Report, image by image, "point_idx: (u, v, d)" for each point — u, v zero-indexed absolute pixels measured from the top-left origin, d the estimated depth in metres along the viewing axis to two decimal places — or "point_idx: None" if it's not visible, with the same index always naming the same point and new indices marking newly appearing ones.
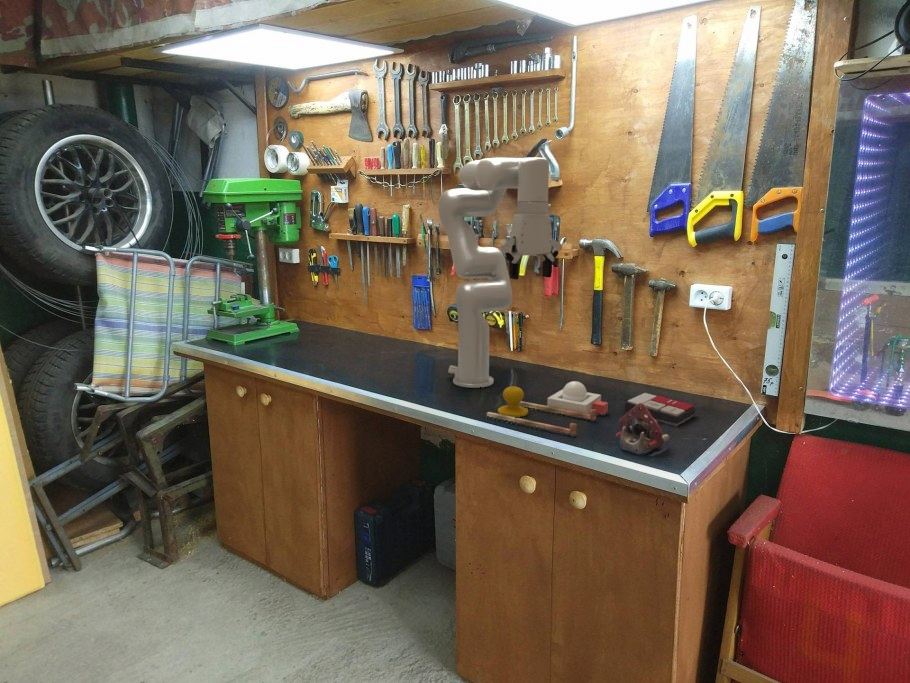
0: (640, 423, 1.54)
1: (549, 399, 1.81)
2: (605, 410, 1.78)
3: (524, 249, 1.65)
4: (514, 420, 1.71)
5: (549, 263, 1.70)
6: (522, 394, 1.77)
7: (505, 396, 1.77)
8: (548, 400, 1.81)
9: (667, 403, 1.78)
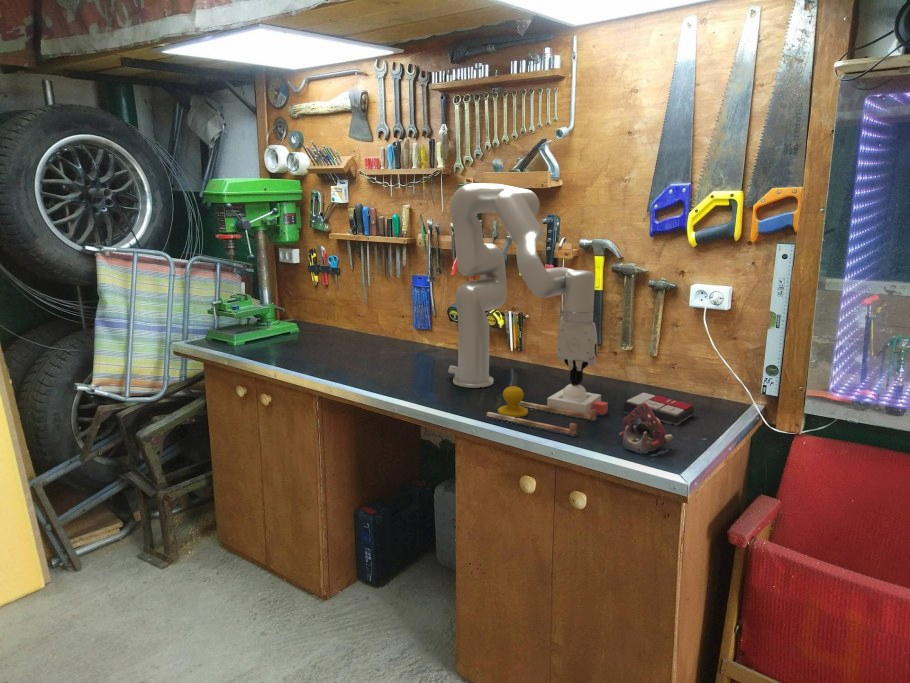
0: (643, 423, 1.55)
1: (549, 399, 1.81)
2: (605, 410, 1.78)
3: None
4: (514, 420, 1.71)
5: None
6: (522, 394, 1.77)
7: (505, 396, 1.77)
8: (548, 400, 1.81)
9: (666, 403, 1.78)
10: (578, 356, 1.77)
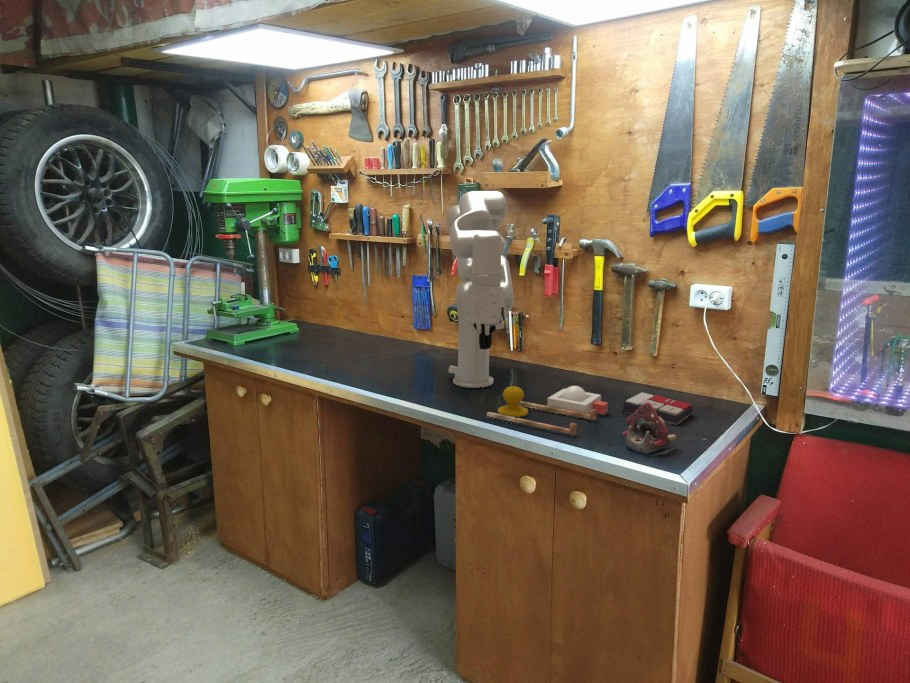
0: (646, 422, 1.55)
1: (549, 399, 1.81)
2: (605, 410, 1.78)
3: None
4: (514, 420, 1.71)
5: None
6: (522, 394, 1.77)
7: (505, 396, 1.77)
8: (548, 400, 1.81)
9: (665, 402, 1.79)
10: (485, 319, 1.75)
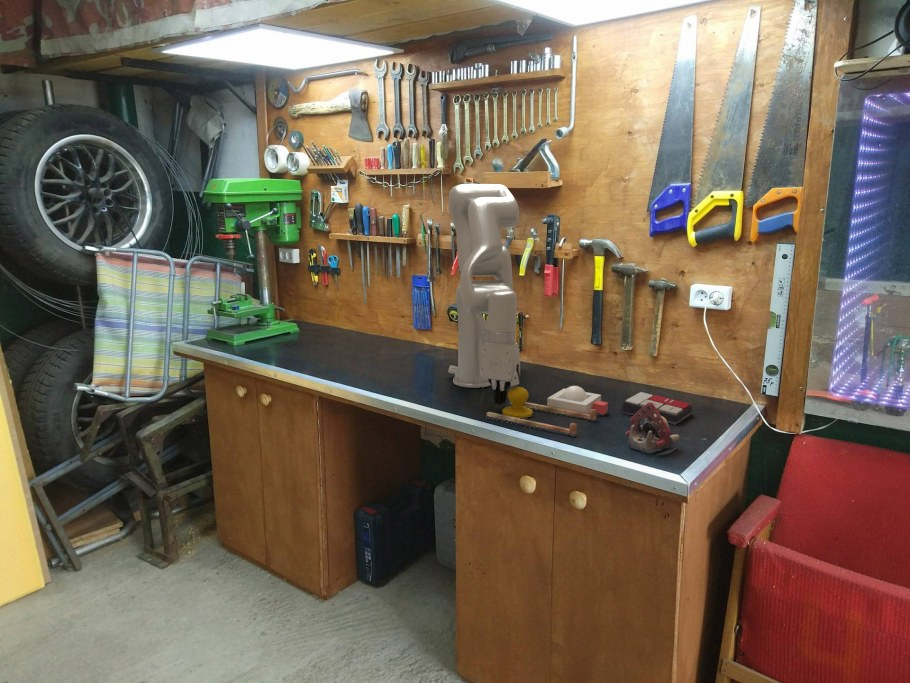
0: (649, 422, 1.55)
1: (549, 399, 1.81)
2: (605, 410, 1.78)
3: None
4: (514, 420, 1.71)
5: None
6: (527, 395, 1.76)
7: (510, 397, 1.76)
8: (548, 400, 1.81)
9: (664, 402, 1.79)
10: (500, 376, 1.76)
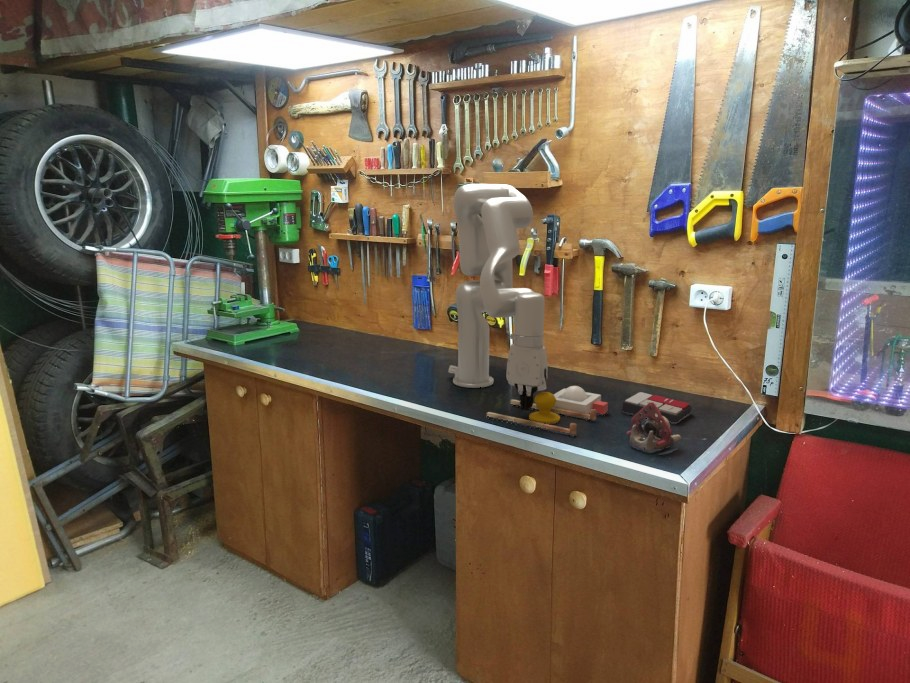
0: (651, 422, 1.55)
1: None
2: (605, 410, 1.78)
3: None
4: (514, 420, 1.71)
5: None
6: (554, 400, 1.72)
7: (537, 402, 1.72)
8: None
9: (664, 402, 1.79)
10: (527, 381, 1.72)
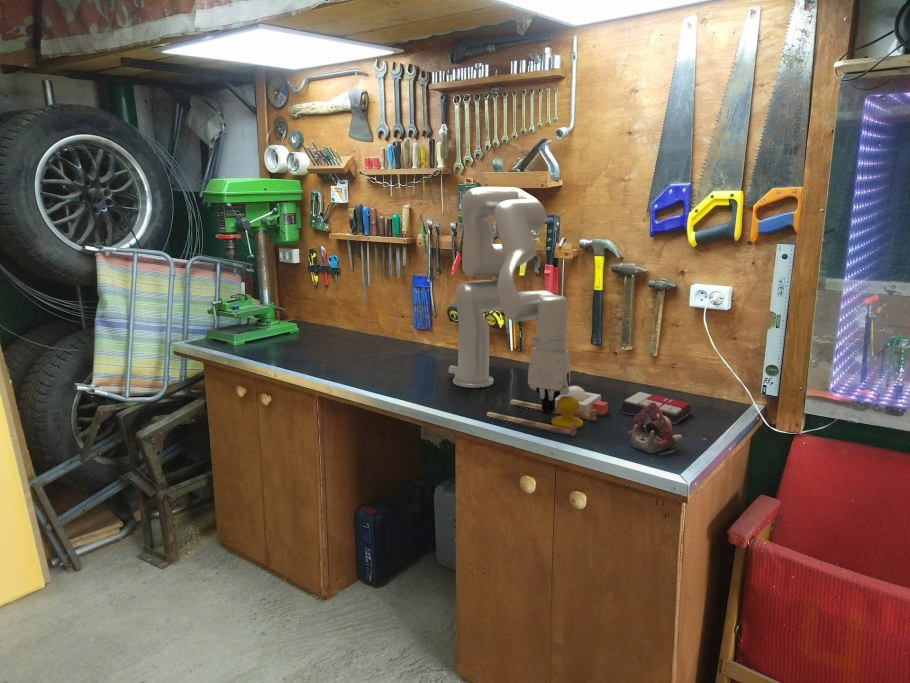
0: (652, 422, 1.55)
1: None
2: (605, 410, 1.78)
3: None
4: (514, 420, 1.71)
5: None
6: (578, 404, 1.68)
7: (560, 406, 1.68)
8: None
9: (663, 402, 1.79)
10: (550, 385, 1.68)
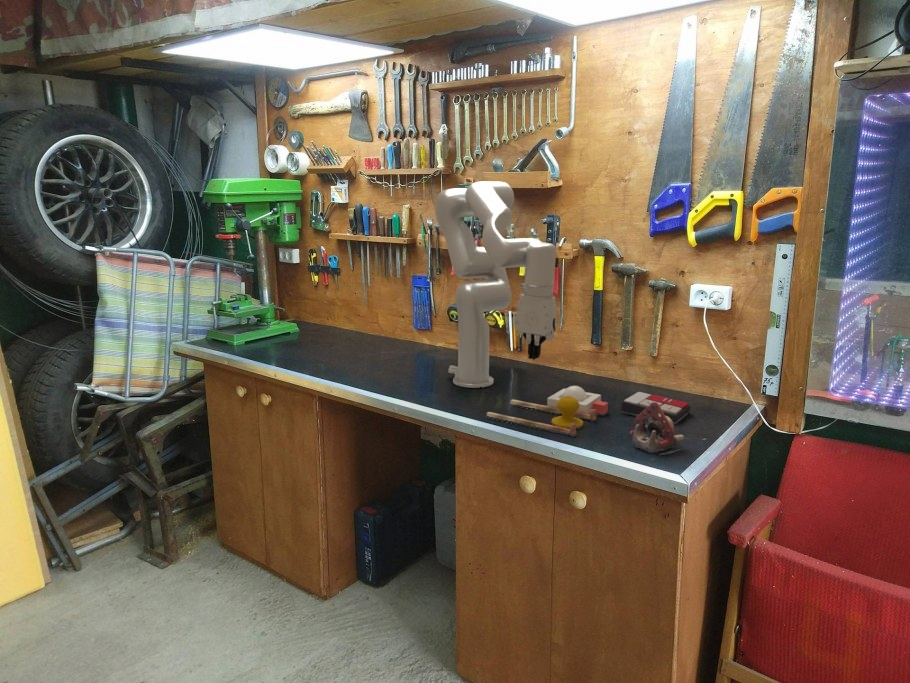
0: (654, 422, 1.55)
1: (549, 399, 1.81)
2: (605, 410, 1.78)
3: None
4: (514, 420, 1.71)
5: None
6: (578, 405, 1.68)
7: (560, 407, 1.68)
8: (548, 400, 1.81)
9: (663, 401, 1.79)
10: (536, 330, 1.74)
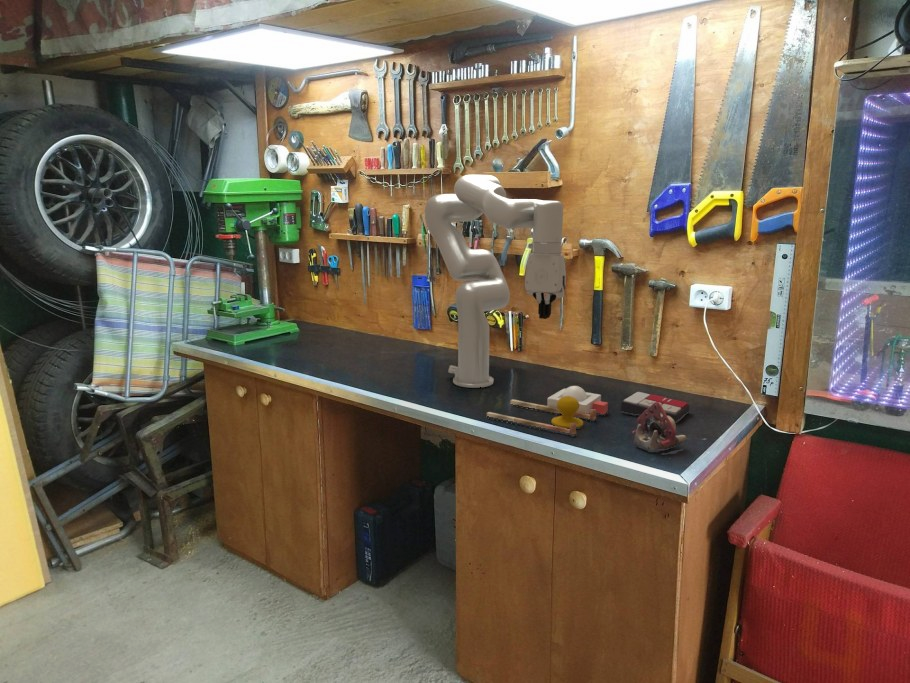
0: (656, 422, 1.55)
1: (549, 399, 1.81)
2: (605, 410, 1.78)
3: None
4: (514, 420, 1.71)
5: None
6: (578, 405, 1.68)
7: (560, 407, 1.68)
8: (548, 400, 1.81)
9: (662, 401, 1.79)
10: (546, 288, 1.74)
